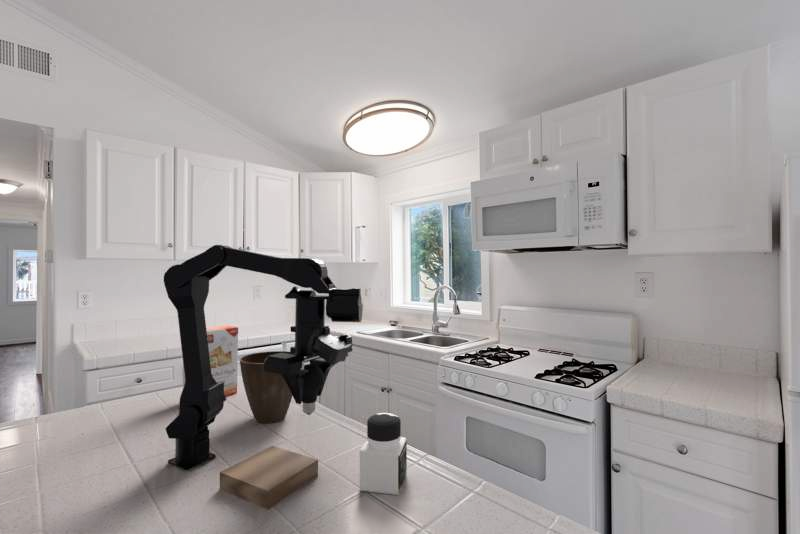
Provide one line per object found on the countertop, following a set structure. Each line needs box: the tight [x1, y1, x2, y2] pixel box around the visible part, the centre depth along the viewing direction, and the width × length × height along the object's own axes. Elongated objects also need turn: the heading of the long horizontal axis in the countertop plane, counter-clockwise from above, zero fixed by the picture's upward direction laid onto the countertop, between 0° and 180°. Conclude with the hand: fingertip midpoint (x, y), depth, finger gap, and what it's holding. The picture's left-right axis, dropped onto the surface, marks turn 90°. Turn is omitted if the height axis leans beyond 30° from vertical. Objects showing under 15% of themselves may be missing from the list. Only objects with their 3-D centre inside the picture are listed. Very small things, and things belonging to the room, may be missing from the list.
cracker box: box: [183, 325, 239, 397], centre depth 119 cm, size 14×6×21 cm, turn 147°
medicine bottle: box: [359, 412, 408, 496], centre depth 72 cm, size 7×7×12 cm
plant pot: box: [239, 350, 295, 424], centre depth 103 cm, size 15×15×16 cm
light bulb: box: [302, 363, 324, 416], centre depth 79 cm, size 6×6×10 cm
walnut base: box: [219, 445, 319, 510], centre depth 72 cm, size 12×12×3 cm
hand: (308, 399), depth 79 cm, fingers closed on light bulb, 5 cm apart
